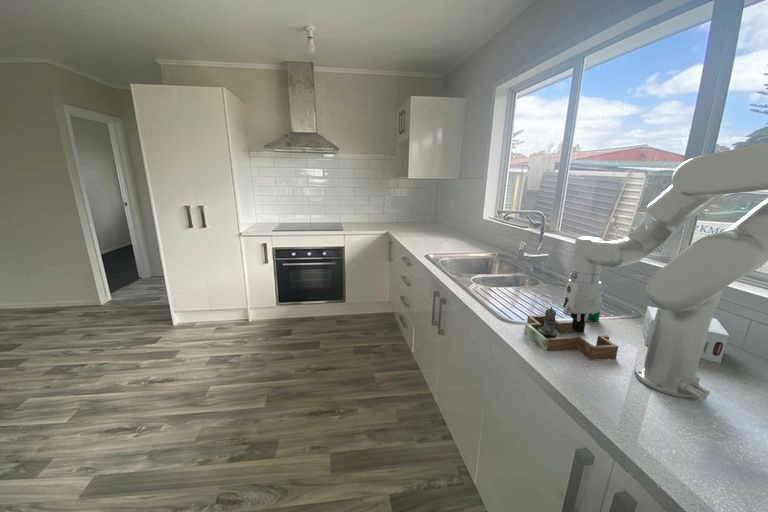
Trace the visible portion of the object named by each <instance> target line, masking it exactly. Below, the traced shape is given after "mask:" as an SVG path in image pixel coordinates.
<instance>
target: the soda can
mask: <svg viewBox="0 0 768 512" xmlns="http://www.w3.org/2000/svg"><path fill="white" fill-rule="evenodd" d="M602 292H603V295H602V301H604V300H603V299H604V294H605V293H604V290H603V289H602ZM600 317H601V311H600V312H598V313H596V314H593V315H590V316H589V317H588V320H589V322H593V323H595V322H598V321H599V320H600ZM588 320H587V321H588Z"/></svg>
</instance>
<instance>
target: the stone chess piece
mask: <svg viewBox="0 0 768 512" xmlns="http://www.w3.org/2000/svg"><path fill="white" fill-rule="evenodd" d="M556 313H557V312H556V310H554V309H553V307H552V306H550V308H548V309H545V314H544V315H545V318H544V319H543V320H544V326H543V327H540V328H539V329H538V330H539V333H541V334H542V335H543V336H544V337H545V338H558V335H560V334H559V332H558V331H557V330H555V328H554V325H555V322H556V320H557V319H556V316H557V315H556ZM555 319H556V320H555Z"/></svg>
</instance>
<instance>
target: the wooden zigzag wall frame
mask: <svg viewBox="0 0 768 512" xmlns="http://www.w3.org/2000/svg"><path fill="white" fill-rule="evenodd" d="M544 318H545V314H543V315H541V314H540V315H538V314H537V315H528V316H527V321H526V323H525V325H524V326H525V327H524V333H523V334H524V335H525V336H526V335H527V336H526V337H527V338H528V337H529V338H530V339H531V340H532V341H533V342H534V343H535V344H534V345H535V346H537V348H539V349H540V350H541V349H542V350H543V351H545V353H546V351H549V352H562V351H563V352H564V351H566V350H567V351H578V352H579V353H581V354H582V355H583V356H585V357H586V358H587V359H588V360H590V361H599V360H600V361H603V360H615V359H617V356H618V352H619V351H618V350H619V346H618V345H617V344H616V343H613V342H612V341H610V336H609V335H607V334H604V335H603V334H602V335H597V340H596V343H595V344H596V345H593V344H592V343H590V342H589V341H587V340H586V339H584V338H582V336H566V337H564V336H562V337H561V336H560V337H556V338H545V337H544V336H543V335H542V334H541V333H539V330H538V329H539V328H540V327H543V326H544V320H543V319H544ZM555 320H556V322H555V325H554V328H555V330H557V331H558V332H559V333H568V334H578V333H577V332H576V331H574V330H573V329H572V322H573V320H572V321H558V320H557V319H556V318H555ZM586 322H587V321H585V326H584V332H583V333H581V332H580V333H579V334H584V333H585V328H586V325H587V323H586ZM529 338H528V339H529ZM530 339H529V340H530ZM531 340H530V341H531ZM532 341H531V342H532ZM533 342H532V343H533ZM542 350H541V351H542ZM543 351H542V352H543Z"/></svg>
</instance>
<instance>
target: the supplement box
mask: <svg viewBox="0 0 768 512" xmlns="http://www.w3.org/2000/svg"><path fill="white" fill-rule="evenodd" d="M657 309H658V307H656V306H650V305H648V306H647V307H646V311H645V315H644V320H643V323H642V324H643V325H642V328H641V331H642V336H644V337H643V341H644V345H645V346H648V345H649V341H650V337H651V332H652V328H653V324H654V320H655V316H656V312H657ZM729 337H730V333H728V332H727V330H726V329H725V328H724V327H723V325H722V324H721V322H720V321H719V320H718V318H714V317H712V320H711V323H710V327H709V330H708V333H707V336H706V340H705V343H704V347H703V350H702V354H701V357H700V359H701V358H702V360H705V361H706V360H707V361H711V362H714V363H719V364H721V363H722V359H723V355H724V351H725V350H726V346H727V344H728V343H727V342H728V339H729Z"/></svg>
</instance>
